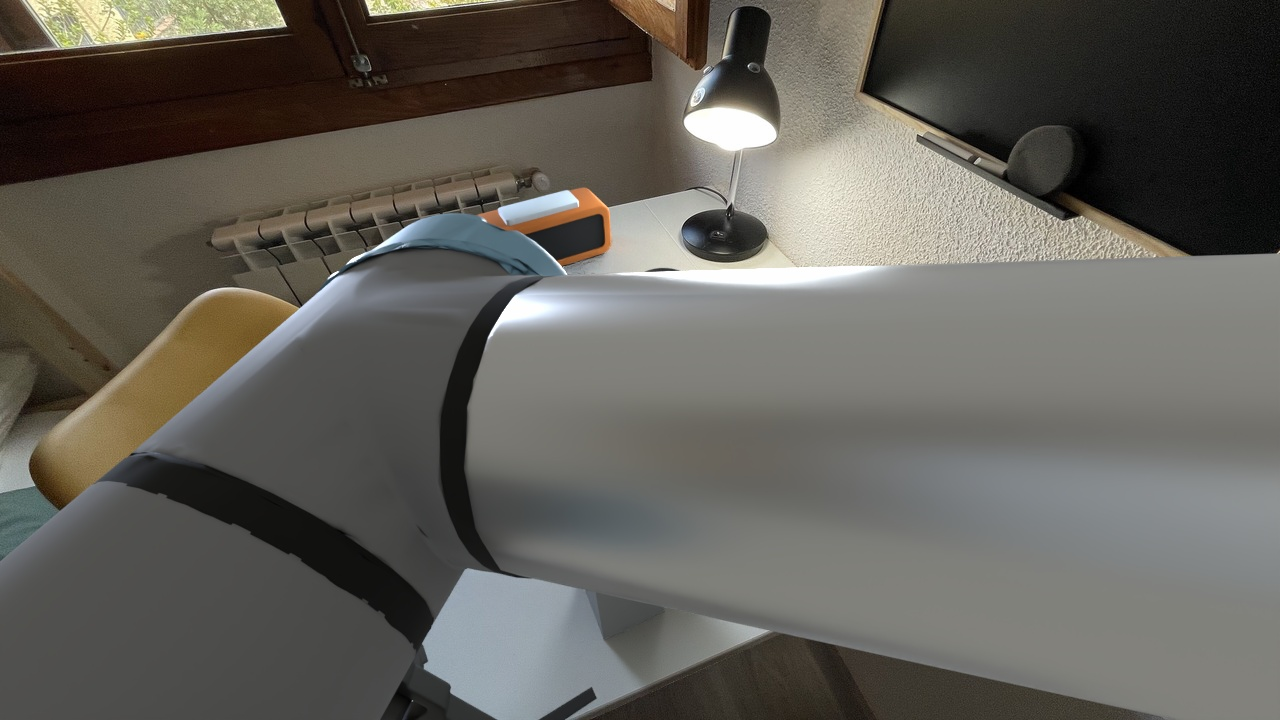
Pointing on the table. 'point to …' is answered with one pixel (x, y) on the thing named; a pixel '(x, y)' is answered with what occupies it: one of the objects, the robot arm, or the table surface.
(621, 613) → the perfume bottle
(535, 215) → the alarm clock
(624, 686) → the table surface
